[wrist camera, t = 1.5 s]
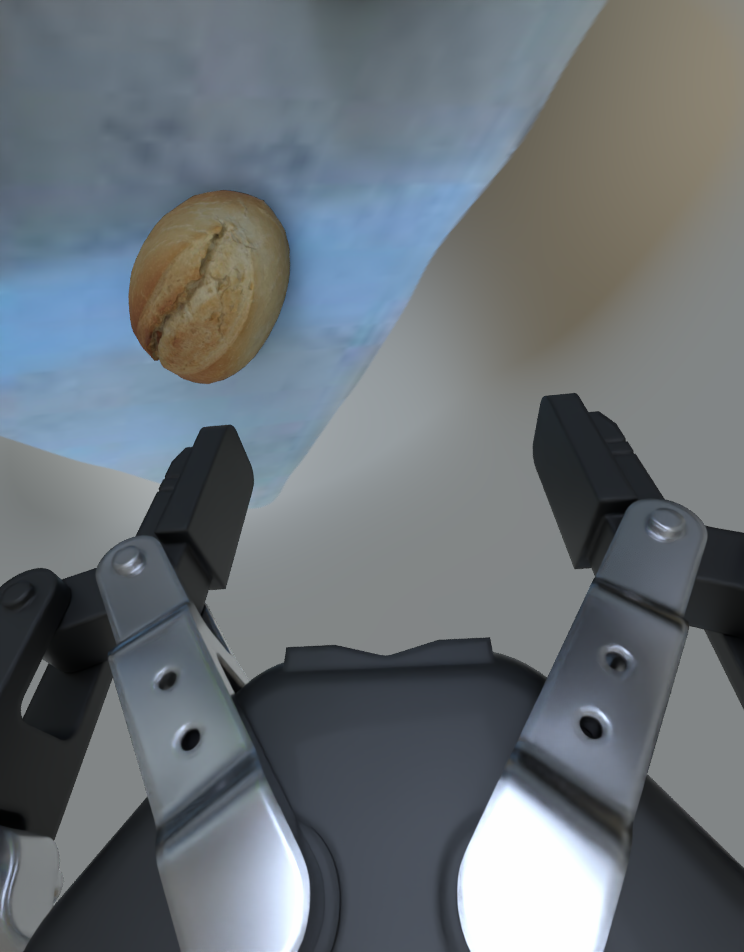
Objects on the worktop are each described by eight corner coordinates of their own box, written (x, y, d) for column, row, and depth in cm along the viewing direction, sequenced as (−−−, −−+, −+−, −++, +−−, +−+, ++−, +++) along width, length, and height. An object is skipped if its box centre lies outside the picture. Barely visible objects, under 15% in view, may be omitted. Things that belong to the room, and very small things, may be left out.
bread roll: (132, 323, 37) (88, 374, 31) (190, 139, 28) (142, 162, 22) (240, 379, 40) (218, 434, 35) (320, 232, 32) (308, 273, 26)
